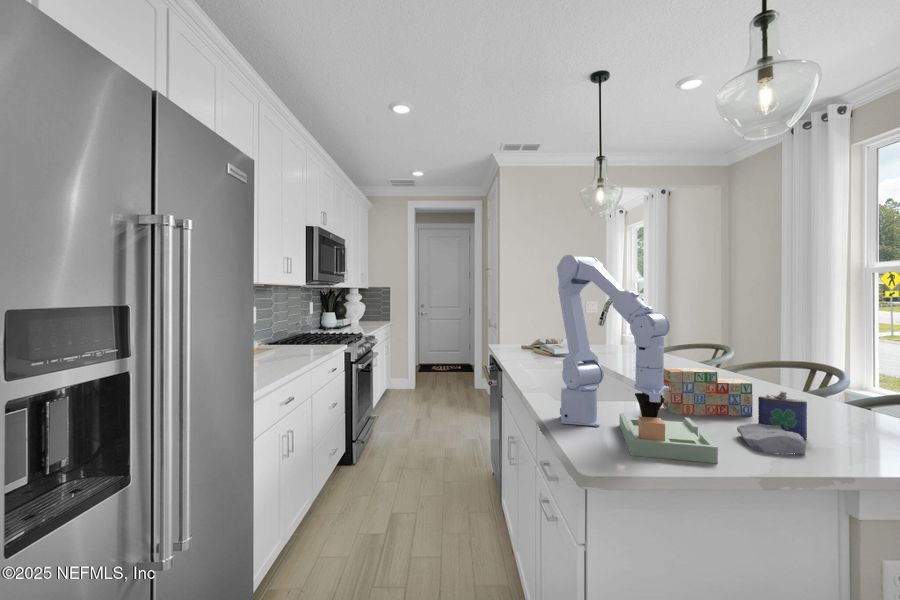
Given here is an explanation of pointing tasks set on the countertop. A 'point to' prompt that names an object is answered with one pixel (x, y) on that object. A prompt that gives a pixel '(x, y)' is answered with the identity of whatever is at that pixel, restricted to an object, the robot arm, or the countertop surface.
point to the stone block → (771, 439)
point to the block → (651, 429)
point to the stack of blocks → (705, 393)
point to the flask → (783, 413)
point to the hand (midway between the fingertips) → (648, 426)
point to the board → (670, 442)
